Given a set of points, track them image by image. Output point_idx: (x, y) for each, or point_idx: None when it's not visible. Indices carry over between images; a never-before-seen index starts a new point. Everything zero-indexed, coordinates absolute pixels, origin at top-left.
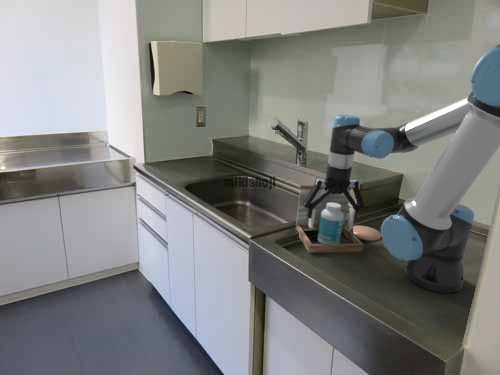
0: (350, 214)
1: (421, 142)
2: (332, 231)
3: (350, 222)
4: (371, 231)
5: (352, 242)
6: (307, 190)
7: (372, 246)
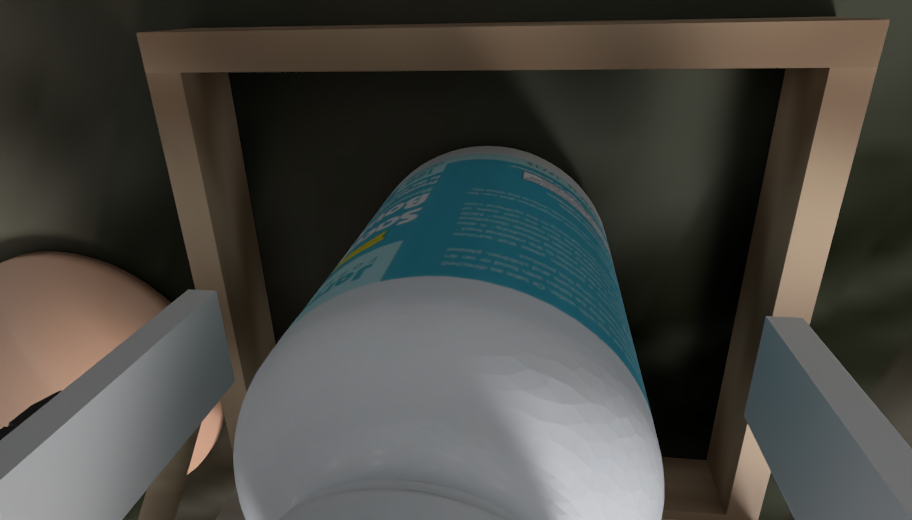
0: (108, 461)
1: None
2: (502, 205)
3: (172, 347)
4: (27, 389)
5: (246, 214)
6: None
7: (66, 143)
